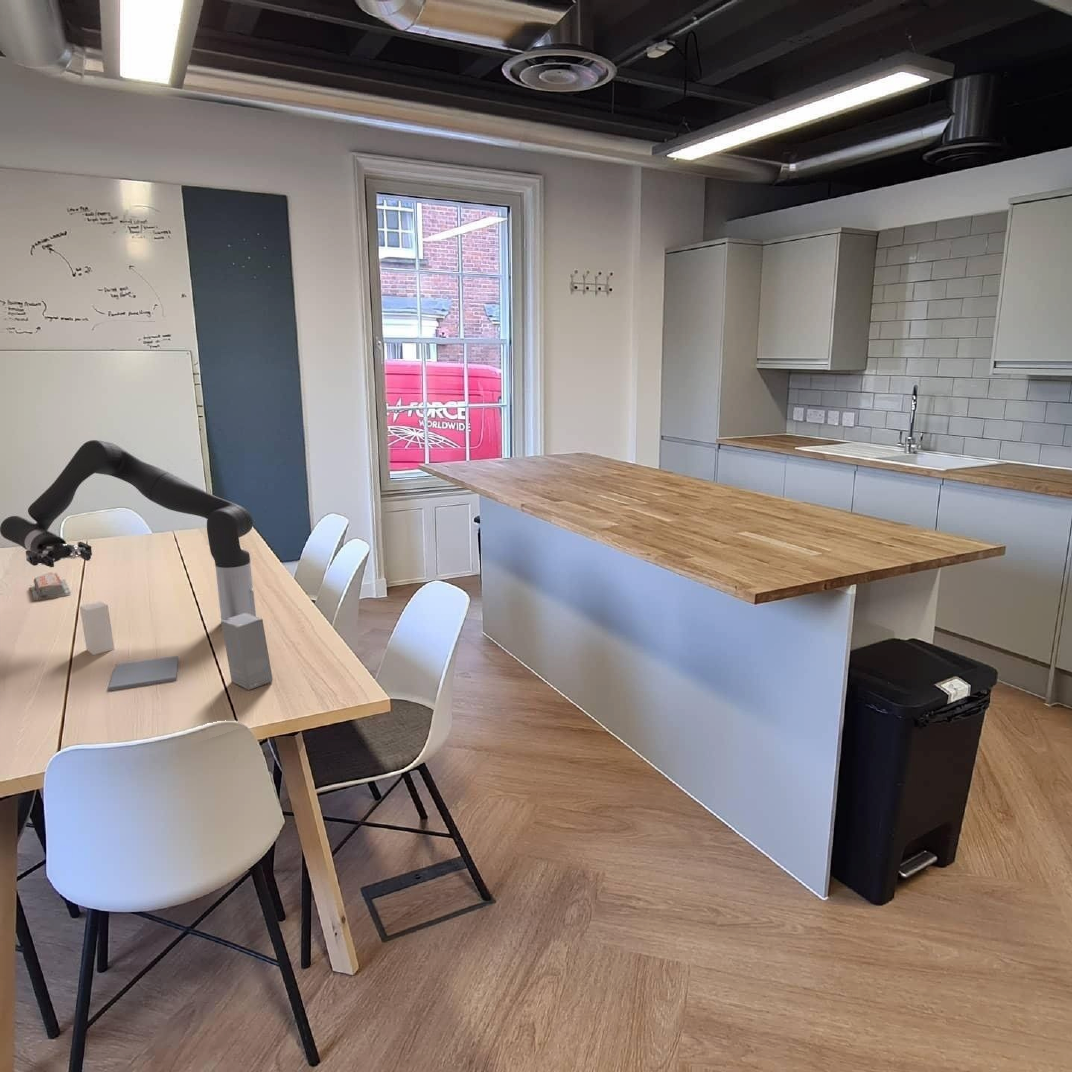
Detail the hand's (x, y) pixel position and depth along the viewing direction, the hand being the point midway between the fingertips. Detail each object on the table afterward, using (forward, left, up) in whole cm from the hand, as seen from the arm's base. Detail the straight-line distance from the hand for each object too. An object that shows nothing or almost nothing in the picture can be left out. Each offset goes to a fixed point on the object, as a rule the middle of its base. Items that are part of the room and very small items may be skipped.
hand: (70, 560), depth 197 cm
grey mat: (-17, +29, -23) cm, 41 cm away
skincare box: (-40, +44, -23) cm, 64 cm away
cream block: (-5, +7, -23) cm, 24 cm away
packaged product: (+17, -56, -23) cm, 63 cm away
